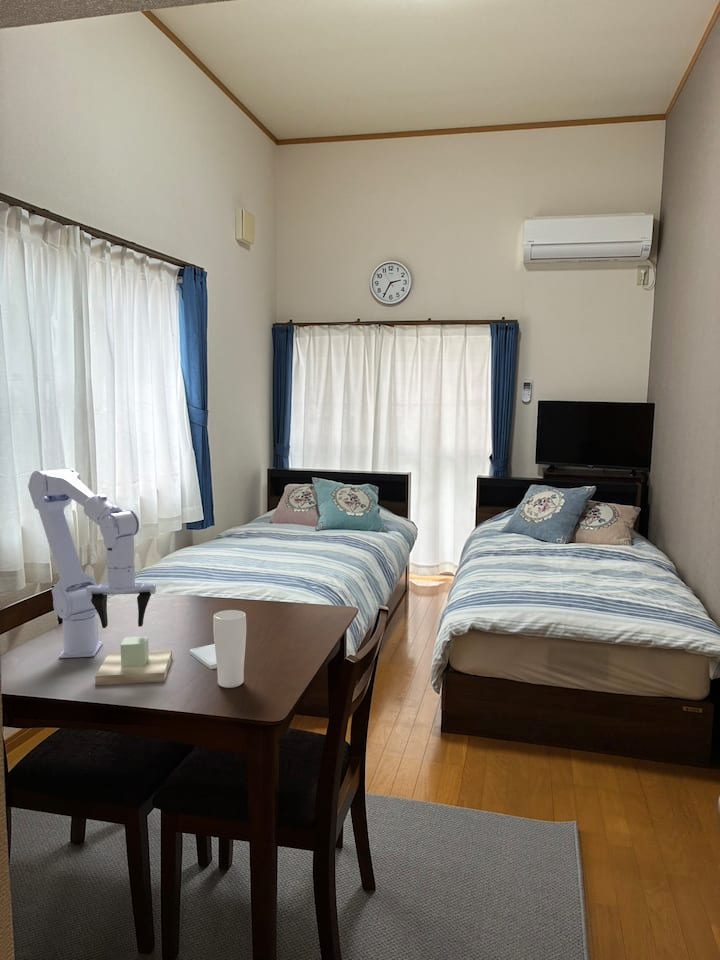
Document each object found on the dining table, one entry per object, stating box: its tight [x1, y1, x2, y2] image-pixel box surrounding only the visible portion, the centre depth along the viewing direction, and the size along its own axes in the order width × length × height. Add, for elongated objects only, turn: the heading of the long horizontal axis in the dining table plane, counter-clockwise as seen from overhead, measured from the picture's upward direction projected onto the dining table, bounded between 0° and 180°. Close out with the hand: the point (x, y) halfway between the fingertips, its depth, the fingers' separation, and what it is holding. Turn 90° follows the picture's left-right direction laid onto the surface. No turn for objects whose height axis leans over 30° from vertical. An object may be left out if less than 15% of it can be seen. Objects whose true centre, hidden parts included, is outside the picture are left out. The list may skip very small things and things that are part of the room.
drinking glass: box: [212, 609, 247, 689], centre depth 146 cm, size 7×7×15 cm
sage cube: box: [120, 635, 150, 667], centre depth 153 cm, size 5×5×5 cm
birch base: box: [94, 649, 173, 686], centre depth 154 cm, size 14×14×2 cm
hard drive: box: [188, 643, 217, 670], centre depth 163 cm, size 2×8×12 cm
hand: (122, 625), depth 155 cm, fingers open, 7 cm apart
